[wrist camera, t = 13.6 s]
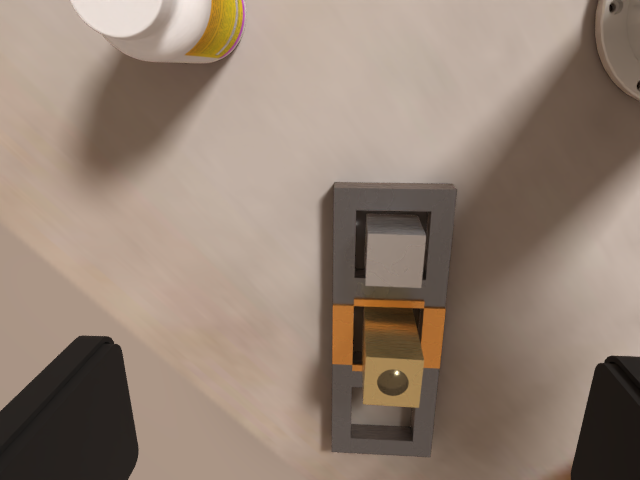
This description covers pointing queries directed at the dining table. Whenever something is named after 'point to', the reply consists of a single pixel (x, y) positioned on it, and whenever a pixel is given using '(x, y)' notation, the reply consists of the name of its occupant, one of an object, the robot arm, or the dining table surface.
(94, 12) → the supplement bottle
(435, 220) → the rail
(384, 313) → the brass nut
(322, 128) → the dining table surface
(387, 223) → the block
